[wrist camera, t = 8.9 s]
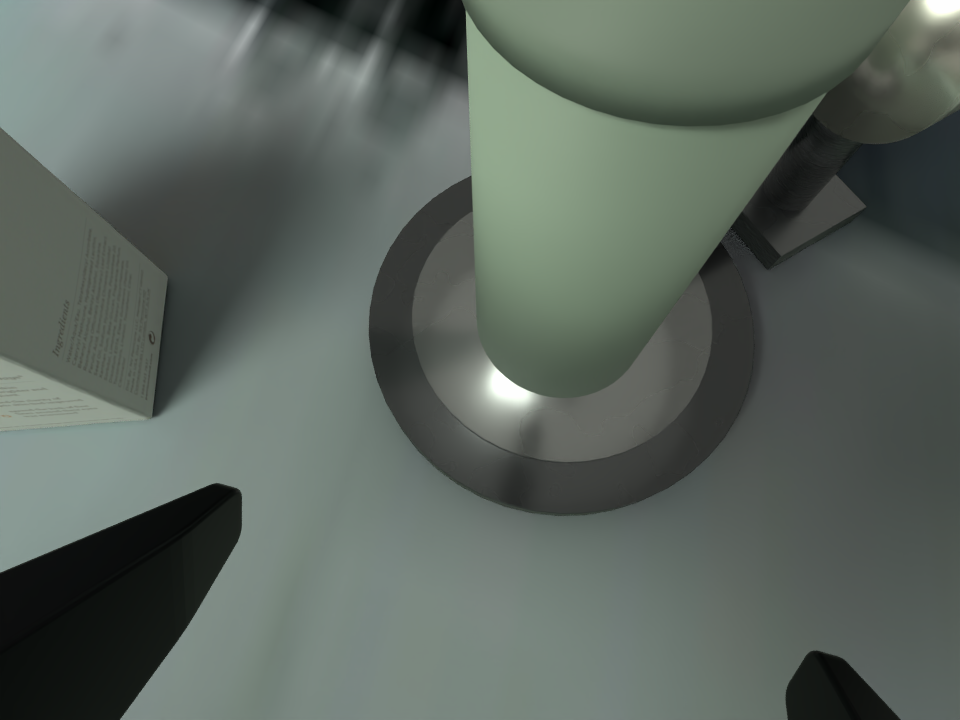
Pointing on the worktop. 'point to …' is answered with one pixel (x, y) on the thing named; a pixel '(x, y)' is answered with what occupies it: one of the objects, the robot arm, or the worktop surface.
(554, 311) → the canister
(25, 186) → the small box
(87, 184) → the worktop surface
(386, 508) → the worktop surface
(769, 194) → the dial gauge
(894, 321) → the worktop surface
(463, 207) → the platter
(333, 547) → the worktop surface
